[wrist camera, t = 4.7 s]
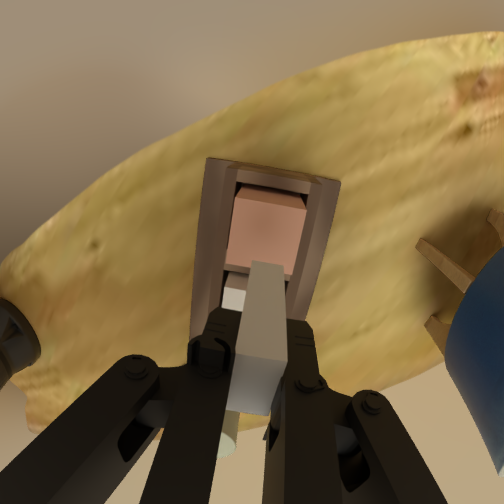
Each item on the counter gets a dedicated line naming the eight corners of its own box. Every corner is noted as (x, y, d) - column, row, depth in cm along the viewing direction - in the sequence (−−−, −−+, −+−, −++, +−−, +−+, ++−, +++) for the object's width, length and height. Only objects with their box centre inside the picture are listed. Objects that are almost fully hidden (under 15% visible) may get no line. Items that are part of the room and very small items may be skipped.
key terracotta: (236, 235, 28) (225, 263, 22) (244, 183, 26) (235, 197, 20) (288, 244, 28) (292, 275, 22) (299, 193, 26) (306, 210, 20)
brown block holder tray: (190, 339, 38) (177, 374, 32) (208, 157, 30) (190, 162, 23) (291, 357, 38) (292, 394, 32) (339, 181, 29) (357, 192, 23)
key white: (228, 298, 32) (218, 333, 26) (234, 257, 31) (224, 286, 25) (272, 305, 32) (271, 342, 26) (281, 265, 31) (283, 297, 24)
